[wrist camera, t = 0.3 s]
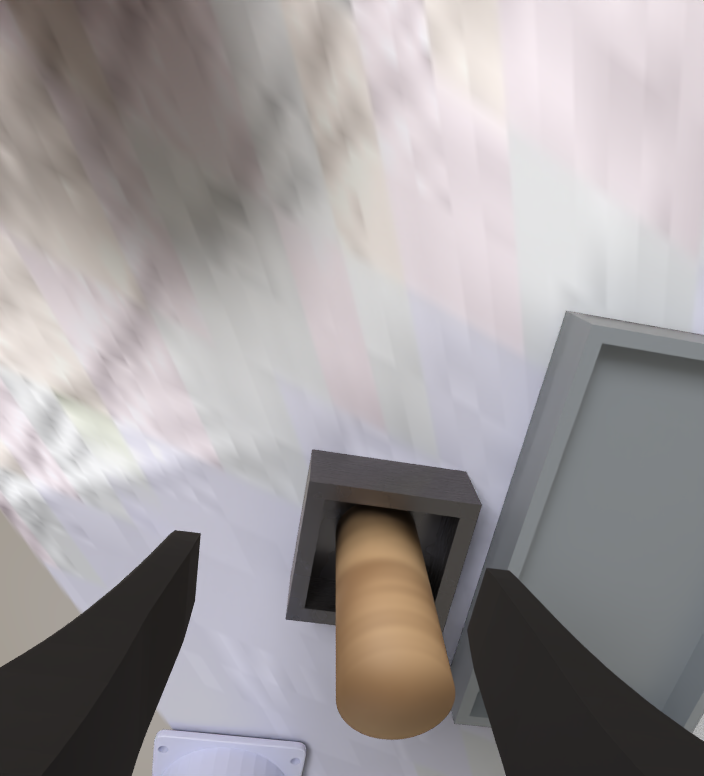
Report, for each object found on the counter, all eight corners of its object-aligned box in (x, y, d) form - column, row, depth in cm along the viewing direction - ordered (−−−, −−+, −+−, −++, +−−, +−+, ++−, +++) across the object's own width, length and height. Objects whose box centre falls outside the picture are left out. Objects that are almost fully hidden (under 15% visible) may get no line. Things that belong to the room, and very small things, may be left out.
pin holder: (430, 594, 25) (441, 637, 23) (290, 577, 25) (285, 619, 22) (465, 471, 23) (481, 505, 21) (312, 449, 22) (309, 481, 20)
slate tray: (659, 706, 28) (684, 746, 26) (445, 683, 27) (454, 723, 25) (841, 359, 22) (895, 377, 20) (566, 310, 21) (591, 324, 18)
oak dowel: (407, 572, 24) (439, 744, 17) (329, 562, 24) (327, 733, 16) (424, 505, 23) (468, 659, 15) (343, 494, 22) (347, 645, 15)
